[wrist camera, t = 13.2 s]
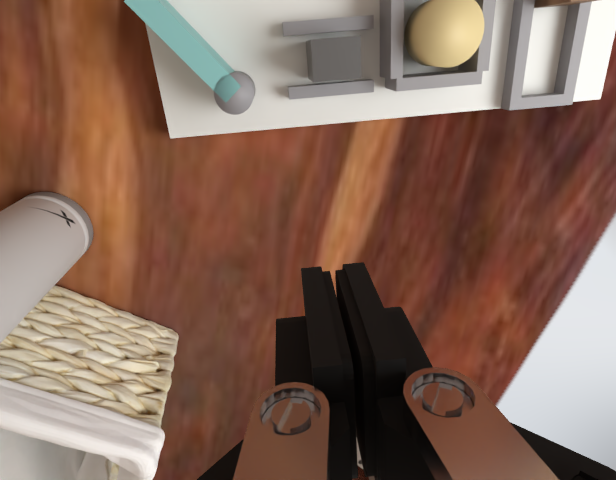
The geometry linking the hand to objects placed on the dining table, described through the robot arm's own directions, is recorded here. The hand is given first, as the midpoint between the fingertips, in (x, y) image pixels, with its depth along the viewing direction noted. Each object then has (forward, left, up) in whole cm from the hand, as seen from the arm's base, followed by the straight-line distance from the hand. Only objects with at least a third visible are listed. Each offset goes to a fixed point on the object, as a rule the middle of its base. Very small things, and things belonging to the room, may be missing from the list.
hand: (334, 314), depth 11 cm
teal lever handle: (+7, +6, -22) cm, 24 cm away
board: (+7, -7, -24) cm, 26 cm away
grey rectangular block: (+6, -3, -22) cm, 23 cm away
